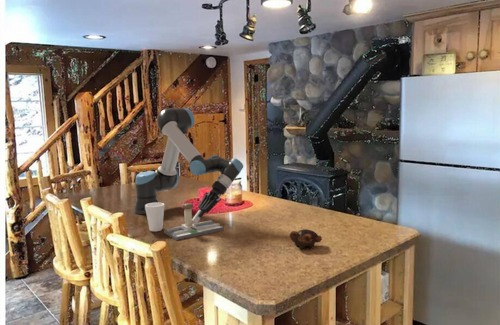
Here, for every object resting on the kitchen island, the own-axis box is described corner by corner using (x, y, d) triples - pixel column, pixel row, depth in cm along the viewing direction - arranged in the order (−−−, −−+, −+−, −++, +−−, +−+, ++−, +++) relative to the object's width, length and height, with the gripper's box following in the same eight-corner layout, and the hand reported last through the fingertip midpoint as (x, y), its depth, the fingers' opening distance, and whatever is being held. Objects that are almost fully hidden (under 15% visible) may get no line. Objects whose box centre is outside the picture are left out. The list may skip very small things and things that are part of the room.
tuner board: (164, 233, 202) (163, 227, 201) (210, 223, 217) (209, 218, 216) (176, 240, 190) (175, 234, 190) (223, 229, 205) (223, 224, 205)
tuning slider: (181, 228, 203) (180, 203, 201) (190, 226, 205) (189, 202, 204) (191, 234, 194) (190, 208, 192) (200, 232, 197) (200, 206, 195)
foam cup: (146, 233, 202) (145, 207, 200) (146, 227, 211) (144, 203, 209) (166, 231, 205) (164, 206, 203) (164, 226, 213) (163, 201, 212)
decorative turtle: (284, 246, 180) (285, 228, 180) (313, 243, 186) (314, 226, 186) (295, 252, 171) (296, 233, 171) (325, 249, 178) (326, 230, 177)
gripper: (210, 178, 213) (183, 214, 206) (223, 182, 203) (195, 220, 196) (219, 187, 217) (192, 223, 210) (233, 191, 207) (205, 229, 199)
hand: (193, 221), depth 203 cm, fingers closed
